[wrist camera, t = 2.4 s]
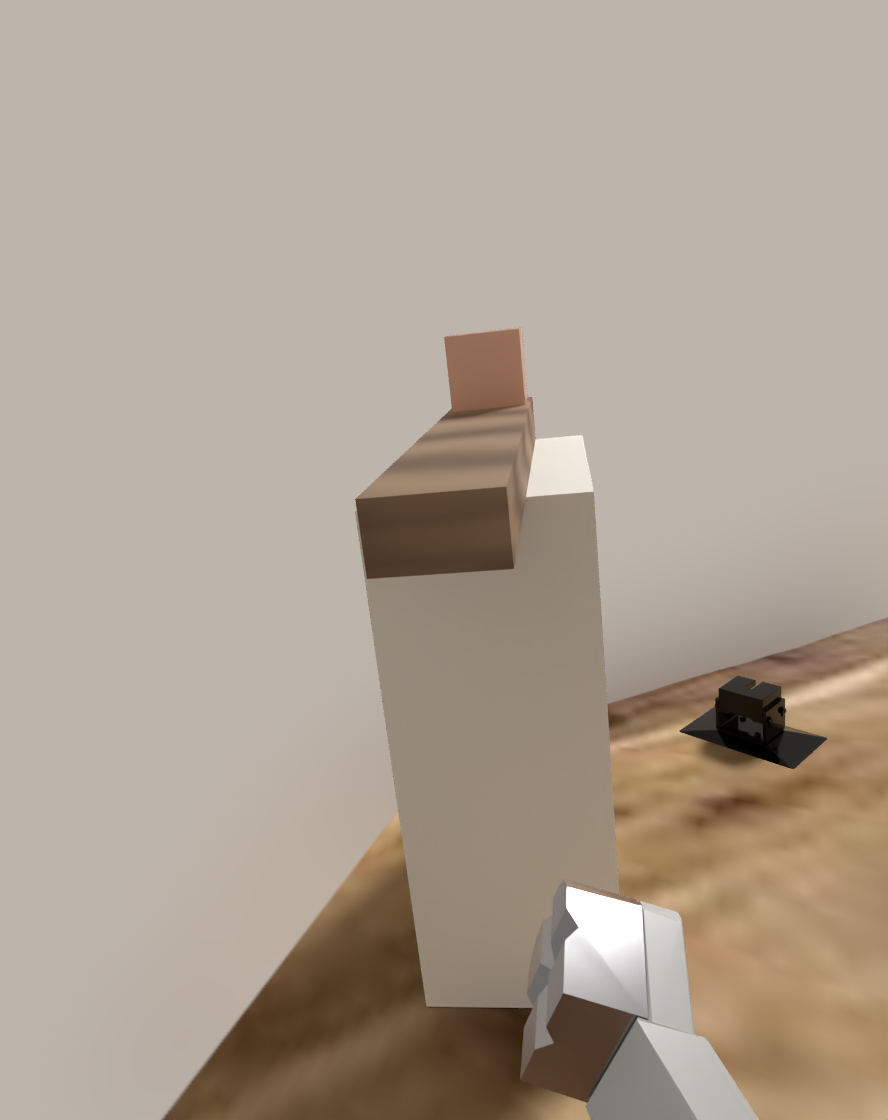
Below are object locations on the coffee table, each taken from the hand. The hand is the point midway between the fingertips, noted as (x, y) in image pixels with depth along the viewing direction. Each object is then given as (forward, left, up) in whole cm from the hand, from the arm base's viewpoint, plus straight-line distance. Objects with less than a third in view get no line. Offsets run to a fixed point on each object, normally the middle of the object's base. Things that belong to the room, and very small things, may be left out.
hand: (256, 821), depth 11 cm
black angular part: (-37, -40, -28) cm, 61 cm away
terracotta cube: (-17, -35, +1) cm, 39 cm away
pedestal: (-14, -29, -27) cm, 42 cm away
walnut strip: (-12, -25, -1) cm, 28 cm away
